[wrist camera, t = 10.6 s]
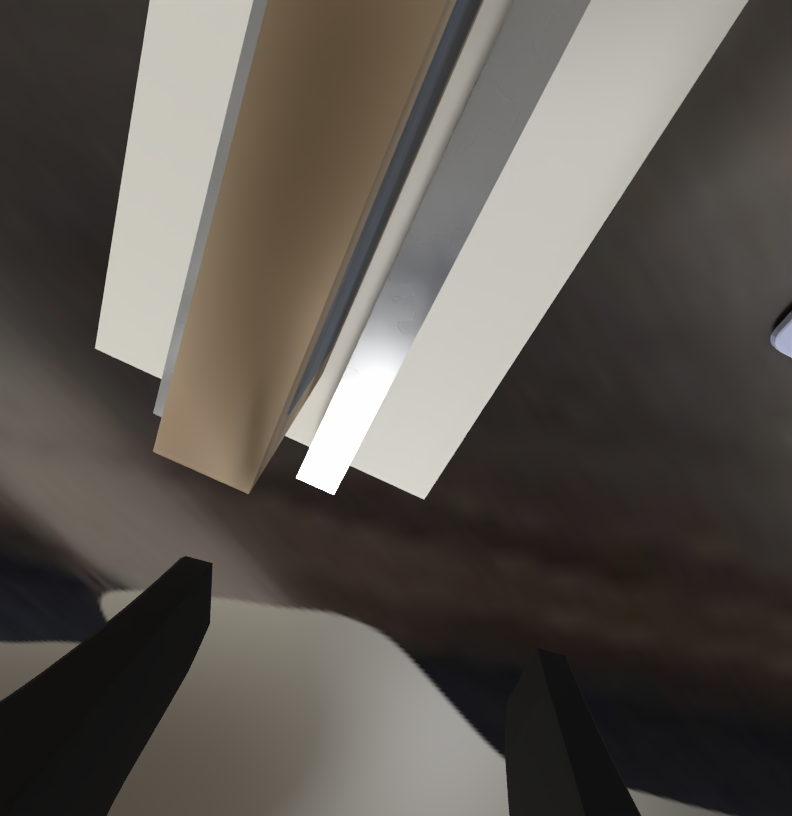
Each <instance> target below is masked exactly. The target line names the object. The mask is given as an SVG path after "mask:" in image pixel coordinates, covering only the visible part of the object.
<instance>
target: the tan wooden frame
mask: <svg viewBox="0 0 792 816" xmlns="http://www.w3.org/2000/svg"><path fill="white" fill-rule="evenodd" d="M483 2H484V0H268V1H267V5H266V9H265V12H264V16H263V20H262V24H261V28H260V32H259V36H258V40H257V44H256V48H255V52H254V56H253V60H252V64H251V68H250V72H249V76H248V79H247V83H246V87H245V91H244V95H243V99H242V103H241V107H240V111H239V115H238V119H237V123H236V127H235V131H234V135H233V139H232V143H231V146H230V150H229V154H228V158H227V162H226V166H225V170H224V174H223V178H222V182H221V186H220V190H219V194H218V198H217V202H216V206H215V209H214V213H213V217H212V221H211V225H210V229H209V233H208V237H207V241H206V245H205V249H204V253H203V257H202V261H201V265H200V269H199V273H198V276H197V280H196V284H195V288H194V292H193V296H192V300H191V304H190V308H189V312H188V316H187V320H186V324H185V328H184V332H183V336H182V340H181V343H180V347H179V351H178V355H177V359H176V363H175V367H174V371H173V375H172V379H171V383H170V387H169V391H168V395H167V399H166V403H165V406H164V410H163V414H162V418H161V422H160V426H159V430H158V434H157V438H156V442H155V446H154V450H153V452H155V453H157V454H159V455H162V456H164V457H166V458H168V459H171V460H173V461H175V462H178V463H180V464H182V465H184V466H187V467H189V468H191V469H193V470H196V471H198V472H200V473H202V474H205V475H207V476H209V477H211V478H214V479H216V480H218V481H220V482H223V483H225V484H227V485H229V486H232V487H234V488H236V489H238V490H241V491H243V492H245V493H247V494H249V493H250V491H251V490H252V488H253V486H254V485H255V483H256V481H257V480H258V478H259V477H260V475H261V473H262V472H263V470H264V468H265V467H266V465H267V464H268V462H269V460H270V459H271V457H272V455H273V454H274V452H275V451H276V449H277V447H278V446H279V444H280V443H281V441H282V439H283V438H284V436H285V434H286V433H287V431H288V430H289V428H290V426H291V425H292V423H293V421H294V420H295V418H296V417H297V415H298V413H299V412H300V410H301V409H302V407H303V405H304V404H305V402H306V400H307V399H308V397H309V396H310V394H311V392H312V391H313V389H314V387H315V386H316V384H317V383H318V381H319V379H320V378H321V376H322V375H323V372H324V370H325V368H326V365H327V363H328V361H329V358H330V356H331V354H332V351H333V349H334V347H335V344H336V342H337V340H338V337H339V335H340V333H341V331H342V328H343V326H344V324H345V321H346V319H347V317H348V314H349V312H350V310H351V307H352V305H353V303H354V300H355V298H356V296H357V294H358V291H359V289H360V287H361V284H362V282H363V280H364V277H365V275H366V273H367V270H368V268H369V266H370V263H371V261H372V259H373V256H374V254H375V252H376V250H377V247H378V245H379V243H380V240H381V238H382V236H383V233H384V231H385V229H386V226H387V224H388V222H389V219H390V217H391V215H392V212H393V210H394V208H395V206H396V203H397V201H398V199H399V196H400V194H401V192H402V189H403V187H404V185H405V182H406V180H407V178H408V175H409V173H410V171H411V168H412V166H413V164H414V162H415V159H416V157H417V155H418V152H419V150H420V148H421V145H422V143H423V141H424V138H425V136H426V134H427V131H428V129H429V127H430V125H431V122H432V120H433V118H434V115H435V113H436V111H437V108H438V106H439V104H440V101H441V99H442V97H443V94H444V92H445V90H446V87H447V85H448V83H449V81H450V78H451V76H452V74H453V71H454V69H455V67H456V64H457V62H458V60H459V57H460V55H461V53H462V50H463V48H464V46H465V43H466V41H467V39H468V37H469V34H470V32H471V30H472V27H473V25H474V23H475V20H476V18H477V16H478V13H479V11H480V9H481V6H482V4H483Z"/></svg>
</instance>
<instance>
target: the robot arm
mask: <svg viewBox="0 0 792 816" xmlns="http://www.w3.org/2000/svg"><path fill="white" fill-rule="evenodd" d="M770 340H771V344H772V345H773V346H774V347H775V348H776V349H777V350H779V351H780V352H782V353H784V354H786V355H788V356H789V357H791V358H792V311H791V312H790V313H789V314H788V315H787V316H786V317H785V319H784V320H783V321H782V322H781V323H780V324H779V325H778V326H777V327H776V328H775V330H774V331H773V333H772V334H771V339H770ZM211 585H212V563H210V562H206V561H202V560H198V559H194V558H191V557H187V556H185V557H183V558H180V559H179V560H178V561H177V562H176V563H175V564H174V565H173V566H172V567H171V568H170V569H169V570H167V571H166V572H165V573H164V574H163V575H162V576H161V577H160V578H159V579H157V580H156V581H155V582H154V583H153V584H152V585H151V586H150V587H148V588H147V589H146V590H145V591H144V592H143V593H142V594H140V595H139V596H138V597H137V598H136V599H135V600H133V601H132V602H131V603H130V604H129V605H128V606H126V608H124V609H123V610H122V611H120V612H119V613H118V614H117V615H115V616H114V617H113V618H112V619H111V620H109V621H108V622H107V623H106V624H104V625H103V626H102V627H101V628H99V629H98V630H97V631H96V632H95V633H93V634H92V635H91V636H90V637H88V638H87V639H86V640H84V641H83V642H82V643H81V644H79V645H78V646H77V647H75V648H74V649H73V650H71V651H70V652H69V653H67V654H66V655H65V656H63V657H62V658H61V659H59V660H58V661H57V662H55V663H54V664H53V665H51V666H50V667H49V668H48V669H46V670H45V671H44V672H42V673H41V674H39V675H38V676H36V677H35V678H34V679H32V680H31V681H29V682H28V683H26V684H25V685H24V686H22V687H21V688H19V689H18V690H16V691H15V692H14V693H12V694H11V695H9V696H8V697H6V698H5V699H3V700H2V701H0V816H107V814H108V812H109V810H110V808H111V806H112V804H113V802H114V800H115V798H116V796H117V794H118V793H119V791H120V789H121V787H122V785H123V783H124V781H125V780H126V778H127V776H128V775H129V773H130V771H131V769H132V768H133V766H134V764H135V762H136V761H137V759H138V757H139V756H140V754H141V752H142V750H143V749H144V747H145V745H146V744H147V742H148V740H149V738H150V737H151V735H152V733H153V732H154V730H155V728H156V726H157V725H158V723H159V721H160V720H161V718H162V716H163V714H164V713H165V711H166V709H167V707H168V706H169V704H170V702H171V701H172V699H173V697H174V695H175V694H176V692H177V690H178V688H179V686H180V685H181V683H182V681H183V680H184V678H185V676H186V674H187V673H188V671H189V668H190V667H191V664H192V662H193V660H194V658H195V656H196V654H197V651H198V649H199V647H200V645H201V642H202V640H203V638H204V635H205V633H206V631H207V629H208V626H209V624H210V608H211V606H210V605H211ZM505 759H506V774H507V788H508V802H509V815H510V816H641V815H640V813H639V811H638V809H637V807H636V805H635V803H634V801H633V799H632V797H631V795H630V793H629V791H628V789H627V788H626V786H625V783H624V781H623V779H622V777H621V775H620V773H619V771H618V769H617V767H616V765H615V763H614V761H613V759H612V757H611V755H610V753H609V751H608V749H607V747H606V745H605V742H604V740H603V738H602V736H601V734H600V732H599V730H598V727H597V725H596V723H595V721H594V719H593V716H592V714H591V712H590V710H589V708H588V705H587V703H586V701H585V699H584V696H583V694H582V692H581V689H580V687H579V685H578V683H577V680H576V678H575V676H574V673H573V671H572V669H571V666H570V664H569V662H568V660H567V658H566V656H564V655H561V654H557V653H553V652H549V651H545V650H541V649H538V648H537V650H536V651H535V653H534V655H533V657H532V658H531V660H530V662H529V664H528V666H527V667H526V669H525V671H524V673H523V674H522V676H521V678H520V680H519V681H518V683H517V685H516V687H515V689H514V690H513V692H512V694H511V696H510V697H509V699H508V701H507V711H506V741H505Z"/></svg>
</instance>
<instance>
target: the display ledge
mask: <svg viewBox="0 0 792 816" xmlns="http://www.w3.org/2000/svg"><path fill="white" fill-rule="evenodd" d="M267 1H268V0H150V3H149V9H148V16H147V22H146V28H145V35H144V41H143V48H142V54H141V60H140V67H139V73H138V79H137V86H136V92H135V98H134V105H133V111H132V117H131V124H130V130H129V137H128V143H127V149H126V156H125V162H124V168H123V175H122V181H121V187H120V194H119V200H118V207H117V213H116V219H115V226H114V232H113V238H112V245H111V251H110V257H109V264H108V270H107V276H106V283H105V289H104V296H103V302H102V308H101V315H100V321H99V327H98V334H97V340H96V346H95V349H97V350H99V351H102V352H104V353H106V354H108V355H110V356H112V357H115V358H117V359H119V360H121V361H123V362H126V363H128V364H130V365H132V366H134V367H136V368H139V369H141V370H143V371H145V372H147V373H150V374H152V375H154V376H156V377H158V378H160V379H161V384H160V388H159V392H158V396H157V400H156V404H155V408H154V412H153V413H154V414H156V415H158V416H160V417H162V414H163V410H164V406H165V403H166V399H167V395H168V391H169V387H170V383H171V379H172V375H173V371H174V367H175V363H176V359H177V355H178V351H179V347H180V343H181V340H182V336H183V332H184V328H185V324H186V320H187V316H188V312H189V308H190V304H191V300H192V296H193V292H194V288H195V284H196V280H197V276H198V273H199V269H200V265H201V261H202V257H203V253H204V249H205V245H206V241H207V237H208V233H209V229H210V225H211V221H212V217H213V213H214V209H215V206H216V202H217V198H218V194H219V190H220V186H221V182H222V178H223V174H224V170H225V166H226V162H227V158H228V154H229V150H230V146H231V143H232V139H233V135H234V131H235V127H236V123H237V119H238V115H239V111H240V107H241V103H242V99H243V95H244V91H245V87H246V83H247V79H248V76H249V72H250V68H251V64H252V60H253V56H254V52H255V48H256V44H257V40H258V36H259V32H260V28H261V24H262V20H263V16H264V12H265V9H266V5H267ZM747 2H748V0H484V2H483V4H482V6H481V9H480V11H479V13H478V16H477V18H476V20H475V23H474V25H473V27H472V30H471V32H470V34H469V37H468V39H467V41H466V43H465V46H464V48H463V50H462V53H461V55H460V57H459V60H458V62H457V64H456V67H455V69H454V71H453V74H452V76H451V78H450V81H449V83H448V85H447V87H446V90H445V92H444V94H443V97H442V99H441V101H440V104H439V106H438V108H437V111H436V113H435V115H434V118H433V120H432V122H431V125H430V127H429V129H428V131H427V134H426V136H425V138H424V141H423V143H422V145H421V148H420V150H419V152H418V155H417V157H416V159H415V162H414V164H413V166H412V168H411V171H410V173H409V175H408V178H407V180H406V182H405V185H404V187H403V189H402V192H401V194H400V196H399V199H398V201H397V203H396V206H395V208H394V210H393V212H392V215H391V217H390V219H389V222H388V224H387V226H386V229H385V231H384V233H383V236H382V238H381V240H380V243H379V245H378V247H377V250H376V252H375V254H374V256H373V259H372V261H371V263H370V266H369V268H368V270H367V273H366V275H365V277H364V280H363V282H362V284H361V287H360V289H359V291H358V294H357V296H356V298H355V300H354V303H353V305H352V307H351V310H350V312H349V314H348V317H347V319H346V321H345V324H344V326H343V328H342V331H341V333H340V335H339V337H338V340H337V342H336V344H335V347H334V349H333V351H332V354H331V356H330V358H329V361H328V363H327V365H326V368H325V370H324V372H323V375H322V376H321V378H320V379H319V381H318V383H317V384H316V386H315V387H314V389H313V391H312V392H311V394H310V396H309V397H308V399H307V400H306V402H305V404H304V405H303V407H302V409H301V410H300V412H299V413H298V415H297V417H296V418H295V420H294V421H293V423H292V425H291V426H290V428H289V430H288V431H287V433H286V434H285V436H287V437H289V438H291V439H293V440H296V441H298V442H300V443H302V444H304V445H307V446H309V447H310V449H309V451H308V453H307V455H306V457H305V460H304V462H303V464H302V466H301V468H300V471H299V473H298V475H297V477H296V478H298V479H300V480H302V481H304V482H307V483H309V484H311V485H313V486H315V487H318V488H320V489H322V490H324V491H326V492H329V493H331V494H333V495H334V493H335V491H336V490H337V488H338V486H339V484H340V482H341V480H342V478H343V476H344V474H345V472H346V470H347V468H348V466H349V465H350V466H352V467H354V468H357V469H359V470H361V471H363V472H365V473H368V474H370V475H372V476H374V477H376V478H378V479H381V480H383V481H385V482H387V483H389V484H392V485H394V486H396V487H398V488H400V489H402V490H405V491H407V492H409V493H411V494H413V495H416V496H418V497H420V498H422V499H425V497H426V496H427V494H428V493H429V491H430V490H431V488H432V487H433V485H434V484H435V482H436V480H437V479H438V477H439V476H440V474H441V473H442V471H443V470H444V468H445V467H446V465H447V463H448V462H449V460H450V459H451V457H452V456H453V454H454V453H455V451H456V450H457V448H458V447H459V445H460V443H461V442H462V440H463V439H464V437H465V436H466V434H467V433H468V431H469V430H470V428H471V427H472V425H473V423H474V422H475V420H476V419H477V417H478V416H479V414H480V413H481V411H482V410H483V408H484V407H485V405H486V403H487V402H488V400H489V399H490V397H491V396H492V394H493V393H494V391H495V390H496V388H497V387H498V385H499V383H500V382H501V380H502V379H503V377H504V376H505V374H506V373H507V371H508V370H509V368H510V367H511V365H512V363H513V362H514V360H515V359H516V357H517V356H518V354H519V353H520V351H521V350H522V348H523V347H524V345H525V343H526V342H527V340H528V339H529V337H530V336H531V334H532V333H533V331H534V330H535V328H536V327H537V325H538V323H539V322H540V320H541V319H542V317H543V316H544V314H545V313H546V311H547V310H548V308H549V307H550V305H551V303H552V302H553V300H554V299H555V297H556V296H557V294H558V293H559V291H560V290H561V288H562V286H563V285H564V283H565V282H566V280H567V279H568V277H569V276H570V274H571V273H572V271H573V270H574V268H575V266H576V265H577V263H578V262H579V260H580V259H581V257H582V256H583V254H584V253H585V251H586V250H587V248H588V246H589V245H590V243H591V242H592V240H593V239H594V237H595V236H596V234H597V233H598V231H599V230H600V228H601V226H602V225H603V223H604V222H605V220H606V219H607V217H608V216H609V214H610V213H611V211H612V210H613V208H614V206H615V205H616V203H617V202H618V200H619V199H620V197H621V196H622V194H623V193H624V191H625V190H626V188H627V186H628V185H629V183H630V182H631V180H632V179H633V177H634V176H635V174H636V173H637V171H638V170H639V168H640V166H641V165H642V163H643V162H644V160H645V159H646V157H647V156H648V154H649V153H650V151H651V150H652V148H653V146H654V145H655V143H656V142H657V140H658V139H659V137H660V136H661V134H662V133H663V131H664V129H665V128H666V126H667V125H668V123H669V122H670V120H671V119H672V117H673V116H674V114H675V113H676V111H677V109H678V108H679V106H680V105H681V103H682V102H683V100H684V99H685V97H686V96H687V94H688V93H689V91H690V89H691V88H692V86H693V85H694V83H695V82H696V80H697V79H698V77H699V76H700V74H701V73H702V71H703V69H704V68H705V66H706V65H707V63H708V62H709V60H710V59H711V57H712V56H713V54H714V53H715V51H716V49H717V48H718V46H719V45H720V43H721V42H722V40H723V39H724V37H725V36H726V34H727V33H728V31H729V29H730V28H731V26H732V25H733V23H734V22H735V20H736V19H737V17H738V16H739V14H740V13H741V11H742V9H743V8H744V6H745V5H746V3H747Z"/></svg>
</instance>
